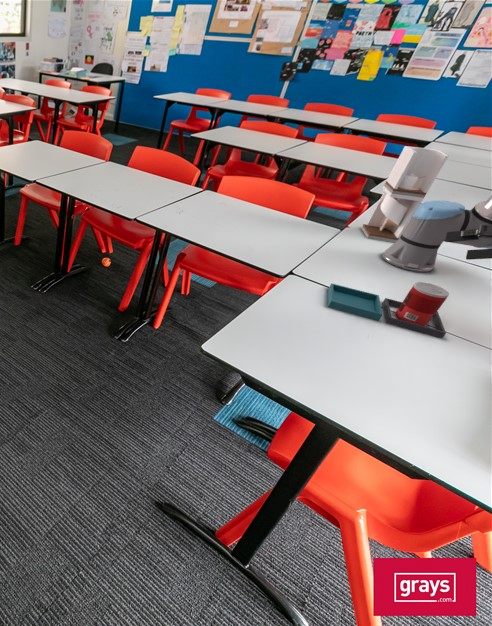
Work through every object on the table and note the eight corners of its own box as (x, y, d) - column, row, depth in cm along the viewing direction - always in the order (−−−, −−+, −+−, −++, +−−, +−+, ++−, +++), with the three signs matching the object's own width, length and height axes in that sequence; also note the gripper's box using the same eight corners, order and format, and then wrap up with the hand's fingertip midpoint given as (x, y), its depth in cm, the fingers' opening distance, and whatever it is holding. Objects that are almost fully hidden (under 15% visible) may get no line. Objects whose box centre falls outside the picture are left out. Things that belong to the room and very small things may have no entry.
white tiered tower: (361, 228, 187) (404, 146, 167) (389, 233, 183) (437, 149, 163) (367, 237, 178) (414, 152, 158) (397, 242, 175) (448, 156, 155)
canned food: (432, 329, 123) (455, 297, 117) (402, 325, 124) (424, 293, 118) (417, 314, 129) (439, 283, 123) (389, 310, 130) (409, 280, 124)
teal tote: (328, 289, 140) (331, 283, 139) (375, 301, 135) (379, 295, 134) (327, 307, 131) (331, 300, 130) (378, 321, 125) (382, 314, 124)
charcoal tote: (382, 303, 134) (385, 297, 133) (433, 316, 129) (437, 311, 128) (385, 323, 125) (389, 317, 124) (441, 338, 119) (446, 332, 118)
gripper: (557, 232, 95) (434, 242, 114) (590, 270, 105) (472, 273, 124) (563, 201, 95) (440, 216, 115) (596, 242, 105) (477, 249, 125)
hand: (456, 246), depth 119 cm, fingers open, 13 cm apart
